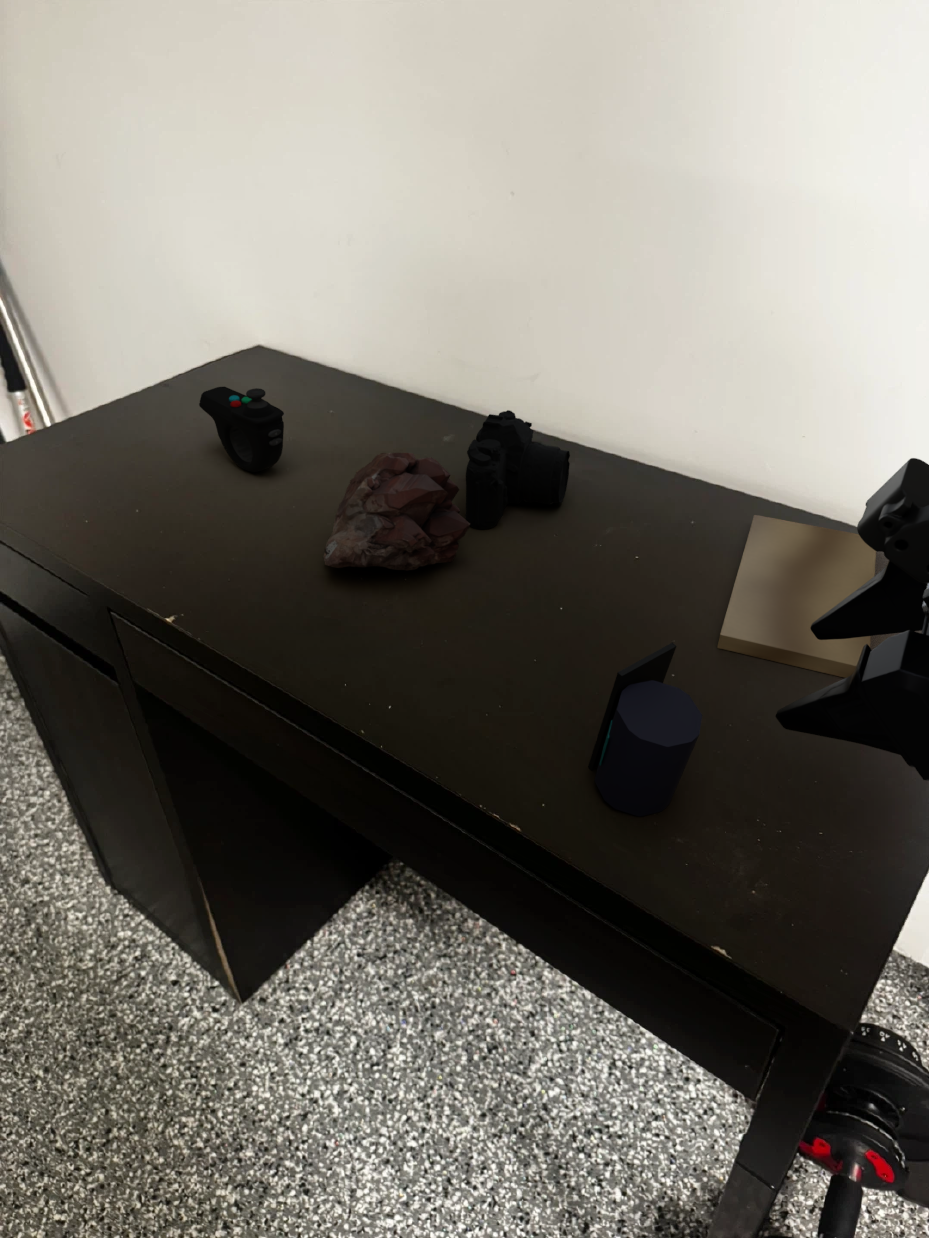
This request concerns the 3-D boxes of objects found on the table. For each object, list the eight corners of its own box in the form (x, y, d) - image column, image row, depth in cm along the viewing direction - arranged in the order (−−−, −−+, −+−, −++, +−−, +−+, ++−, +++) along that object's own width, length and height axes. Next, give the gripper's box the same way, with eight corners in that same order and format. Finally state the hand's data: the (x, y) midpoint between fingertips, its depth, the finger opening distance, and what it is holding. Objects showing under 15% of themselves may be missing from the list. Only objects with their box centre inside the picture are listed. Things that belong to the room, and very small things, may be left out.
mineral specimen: (361, 571, 95) (494, 546, 90) (308, 600, 83) (457, 573, 78) (334, 464, 92) (468, 432, 87) (274, 478, 80) (426, 442, 76)
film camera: (546, 542, 90) (551, 462, 85) (455, 527, 93) (455, 449, 87) (575, 475, 102) (581, 401, 97) (494, 464, 104) (496, 391, 99)
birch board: (872, 550, 89) (877, 537, 89) (863, 682, 73) (869, 668, 72) (751, 526, 93) (754, 514, 92) (716, 648, 77) (720, 634, 76)
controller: (267, 488, 99) (254, 404, 93) (204, 455, 106) (188, 374, 100) (297, 475, 102) (287, 392, 96) (233, 443, 109) (220, 364, 103)
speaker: (570, 749, 66) (595, 649, 60) (640, 736, 68) (671, 637, 61) (610, 832, 61) (642, 733, 54) (685, 816, 63) (725, 718, 56)
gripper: (1014, 368, 47) (761, 498, 58) (991, 526, 34) (670, 656, 45) (1117, 534, 49) (853, 630, 60) (1132, 745, 36) (791, 819, 47)
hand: (798, 673), depth 53 cm, fingers open, 9 cm apart
